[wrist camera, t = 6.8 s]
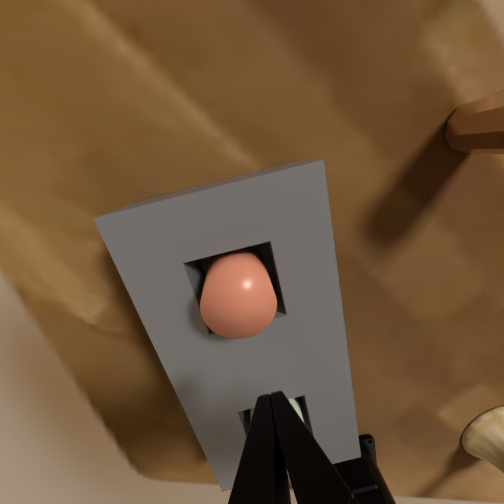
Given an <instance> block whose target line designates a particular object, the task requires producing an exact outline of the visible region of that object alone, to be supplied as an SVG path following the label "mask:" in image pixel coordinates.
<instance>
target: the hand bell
mask: <svg viewBox="0 0 504 504" xmlns="http://www.w3.org/2000/svg"><path fill="white" fill-rule="evenodd" d="M462 446H463V448H464V449H465V450H466V451H467V452H468V453H470V454H471V455H473V456H475V457H477V458H480V459H484V460H486V461H488V462H489V463H491V464H493V465H494V466H496V467H497V468H498V469H500V470H501V471H502V472H503V473H504V406H500V407H497V408H494V409H491V410H489V411H486V412H484V413H483V414H481V415H479V416H478V417H476V418H475V419H474V420H473V421H471V423H470V424H469V425H468V426H467V427H466V429H465V430H464V432H463V435H462Z"/></svg>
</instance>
